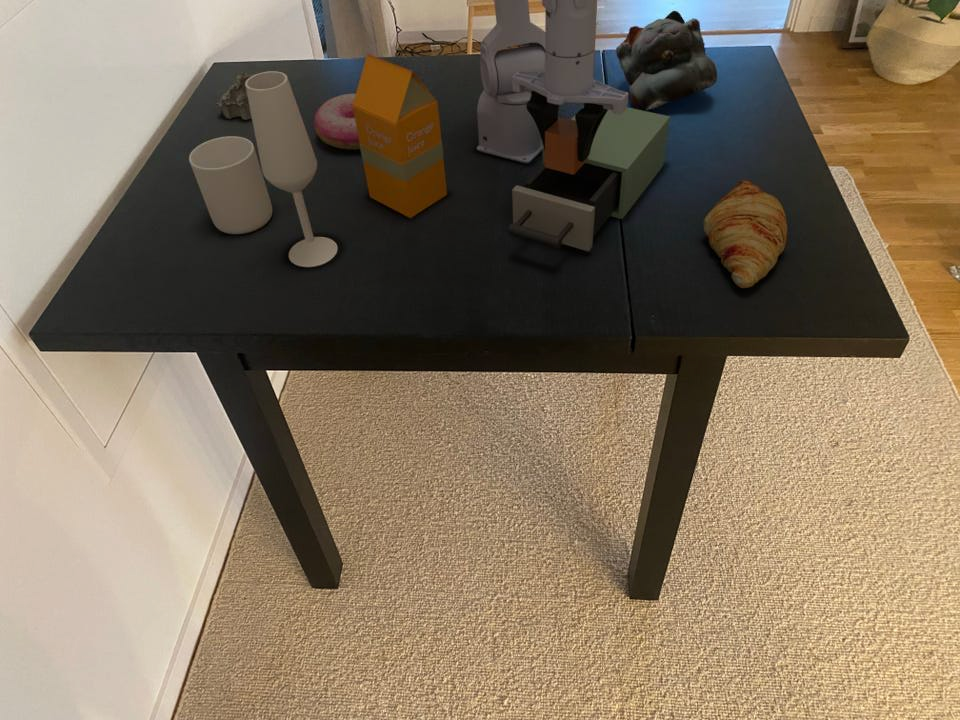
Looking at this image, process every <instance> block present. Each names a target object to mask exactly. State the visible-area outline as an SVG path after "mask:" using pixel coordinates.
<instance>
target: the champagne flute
mask: <svg viewBox="0 0 960 720" xmlns="http://www.w3.org/2000/svg"><path fill="white" fill-rule="evenodd" d="M245 86H246V91H247V96H248V101H249V106H250V111H251V117H252V118H251V122H252V126H253V132H254V136H255V141H256V147H257V151H258V156H259V161H260V162H259V163H260V168H261V172H262V175H263V177H264V179H265V180H267V181H268V182H269V183H270V184H271V185H273V187H275V188H277V189H280V190H283V192H284V191H285V192H286V193H291V194H292V198H293V201H294V204H295V207H296V211H297V215H298V218H299V219H298V220H299V222H300V226H301V230H302V233H303V236H304V239H302V240H300V241H297V242H296V243H295V244H294V245H293V246H292V247H291V248H290V250H289V251H288V259H289V261H290V262H291V263H292V264H294V265H295V266H298V267H301V268H302V267H303V268H312V267H313V268H314V267H319V266H322V265H324V264H326V263H328V262H330V261H331V260H332V259H333V258H334V257H335V256H336V255H337V253H338V249H339V248H338V245H337V243H336V242H335V241H334V240H333V239H331V238H329V237H325V236H314V233H313V229H312V226H311V221H310V218H309V214H308V211H307V207H306V202H305V199H304V195H303V192H302V191H303V190H304V189H305V188H307V186H308V185H309V184H310V183H311V182H312V180H313V179H314V177H315V175H316V174H317V173H316V172H317V168H318V160H317V157H316V155H315V151H314V149H313V146H312V143H311V140H310V137H309V135H308V131H307V129H306V127H305V123H304V120H303V118H302V114H301V112H300V109H299V106H298V103H297V101H296V98H295V95H294V92H293V89H292V86H291V83H290V81H289V78H288V75H287V74H286V73H284V72H281V71H275V70H274V71H273V70H272V71H271V70H270V71H262V72H259V73H256V74H254V75H252V77H250V78H249V79H247V81H246V82H245Z"/></svg>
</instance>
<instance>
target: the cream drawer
mask: <svg viewBox="0 0 960 720" xmlns="http://www.w3.org/2000/svg"><path fill="white" fill-rule="evenodd" d="M621 179H622V172H619V171H615V170H611V169H607V168H603V167H599V166H595V165H591V164H587V163H584V164H583V165H582V166H581V168H580V169H579V170H578V171H577V172H576V173H575V174H574V175H573V174H569V173H565V172H561V171H557V170H553V169H550V168H546V167H545V163H544V164H543V163H542V165H541V166H540V167H539V168H538V169H536V171H534V173H533V174H532V175H531V176H530V177H529V178H528V179H527V180H526V181H525V182H524V186H521V185H514V187H513V188H512V190H511V197H512V198H511V199H512V201H511V202H512V223H510V224H509V226H508V229H507V231H508V234H509V235H512V236H515V237H519V238H522V239H525V240H528V241H531V242H535V243H538V244H541V245H543V246H549V247H551V248H554V249H557V250H558V249H560V248H561V246H562V245H566V246H568V247H571V248H575V249H579V250H581V251H585V252H590V251H591V249H592V248H593V242H594V238H595V236H596V235H597V233H598V232H599V231H600V230H601V229H602V227H603V226H604V225H605V223H606V222H607V221H608V219H610V217H612V216H611V214H612V213H613V212H614V211H615V209H616V208H617V207H618V205H619V200H620V189H621Z"/></svg>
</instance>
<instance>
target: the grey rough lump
mask: <svg viewBox="0 0 960 720" xmlns="http://www.w3.org/2000/svg"><path fill="white" fill-rule="evenodd" d="M252 76H253V75H252V74H247V73H245V71H244V70H243V71H241V72H240V73H238V74H237V76H235V78H234V79H233V84H232V85H230V86H229V87H228V89H227V91H226V92H225V93H223V94H222V96H221V97H220V100H218V102H216V103H215V105H217V106H219V107H220V108H221V109H222V114H223V116H224V118H225V119H230V120H231V119H233V118H238V117H241V119H242V120H245V121H247V120H252V117H251V111H250V106H249V101H248V96H247V91H246V86H245V82H246V81H247V79H249V78H250V77H252Z"/></svg>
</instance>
